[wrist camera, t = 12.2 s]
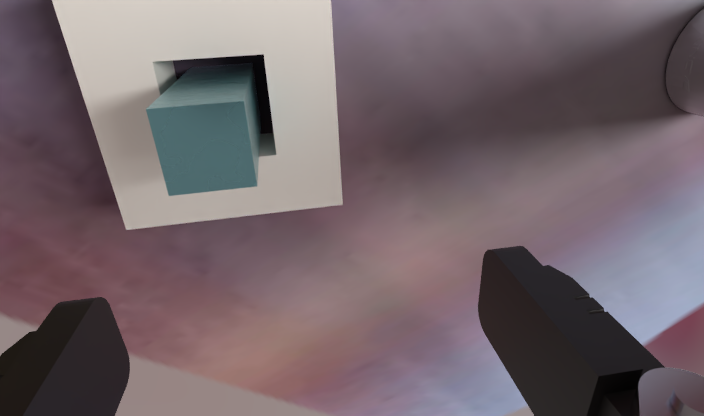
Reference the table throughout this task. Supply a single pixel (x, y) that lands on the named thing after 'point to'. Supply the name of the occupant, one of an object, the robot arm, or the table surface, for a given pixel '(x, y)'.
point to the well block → (159, 74)
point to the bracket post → (208, 130)
